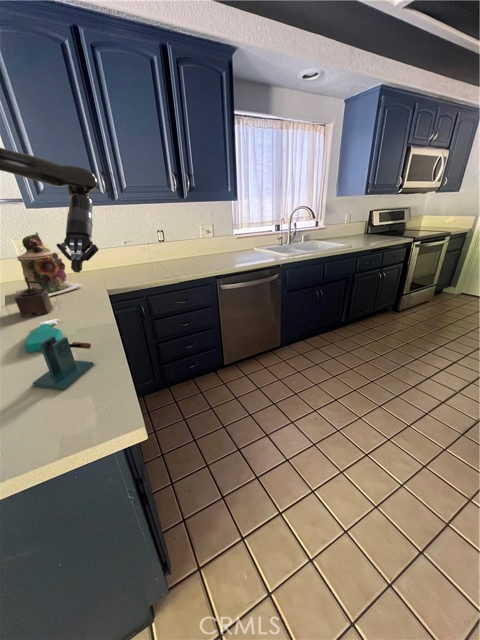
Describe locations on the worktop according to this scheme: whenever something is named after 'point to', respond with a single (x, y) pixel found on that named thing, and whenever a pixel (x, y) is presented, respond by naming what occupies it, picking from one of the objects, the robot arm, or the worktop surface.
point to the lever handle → (71, 345)
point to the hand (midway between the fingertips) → (76, 271)
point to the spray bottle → (42, 335)
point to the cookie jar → (44, 267)
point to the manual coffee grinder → (34, 299)
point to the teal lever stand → (60, 365)
